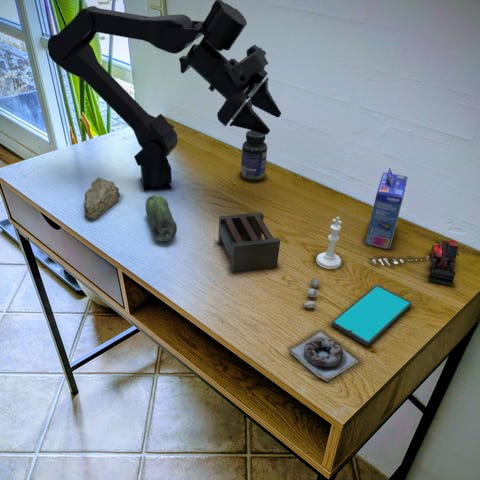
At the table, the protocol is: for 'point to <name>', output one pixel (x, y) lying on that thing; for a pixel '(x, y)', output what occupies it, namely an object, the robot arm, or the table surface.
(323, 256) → the chess piece
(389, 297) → the smartphone
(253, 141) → the pill bottle
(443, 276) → the loader
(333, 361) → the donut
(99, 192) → the stone
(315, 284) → the game pieces
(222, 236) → the rack
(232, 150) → the table surface
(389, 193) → the ink cartridge box
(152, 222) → the vegetable
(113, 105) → the robot arm
